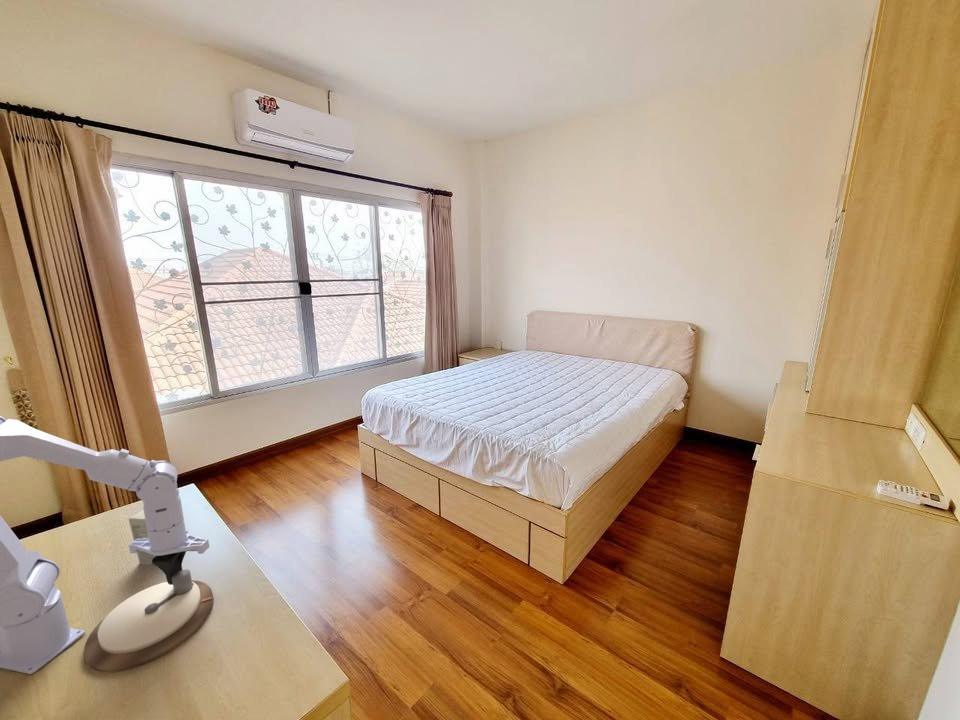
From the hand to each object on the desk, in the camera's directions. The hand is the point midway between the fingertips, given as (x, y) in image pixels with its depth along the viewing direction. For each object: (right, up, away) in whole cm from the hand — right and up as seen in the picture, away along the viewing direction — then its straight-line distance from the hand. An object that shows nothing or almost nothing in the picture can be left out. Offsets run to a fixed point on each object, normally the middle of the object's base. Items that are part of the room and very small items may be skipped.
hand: (175, 580), depth 79 cm
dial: (0, -4, -5) cm, 6 cm away
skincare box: (-14, -2, +12) cm, 19 cm away
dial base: (0, -5, -5) cm, 7 cm away
